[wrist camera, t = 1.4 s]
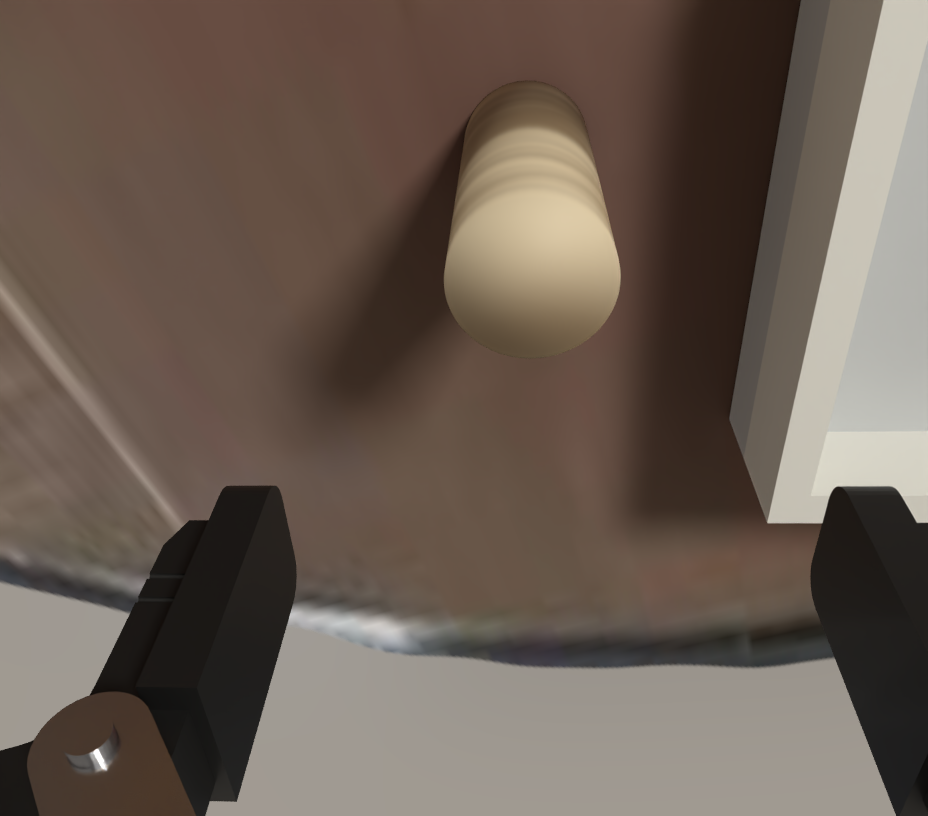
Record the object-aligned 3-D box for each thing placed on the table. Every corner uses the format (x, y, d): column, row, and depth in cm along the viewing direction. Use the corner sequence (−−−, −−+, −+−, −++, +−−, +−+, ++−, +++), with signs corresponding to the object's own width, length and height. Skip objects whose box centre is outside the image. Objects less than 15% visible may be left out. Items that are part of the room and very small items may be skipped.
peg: (461, 82, 26) (438, 200, 18) (590, 78, 26) (626, 196, 18) (466, 205, 28) (448, 359, 20) (585, 202, 28) (614, 357, 20)
